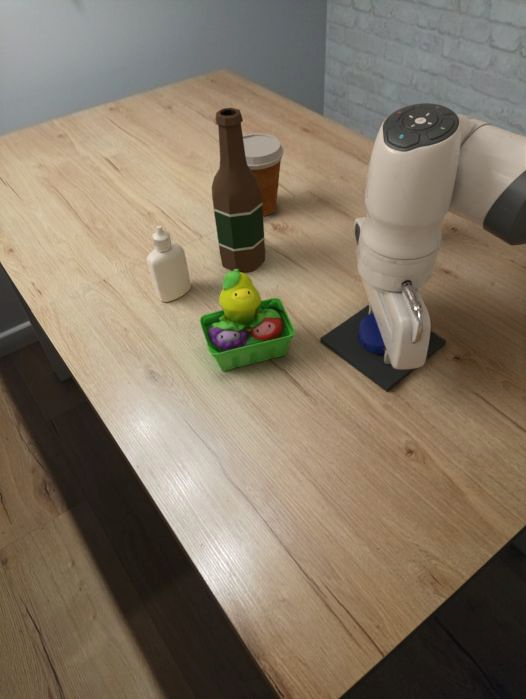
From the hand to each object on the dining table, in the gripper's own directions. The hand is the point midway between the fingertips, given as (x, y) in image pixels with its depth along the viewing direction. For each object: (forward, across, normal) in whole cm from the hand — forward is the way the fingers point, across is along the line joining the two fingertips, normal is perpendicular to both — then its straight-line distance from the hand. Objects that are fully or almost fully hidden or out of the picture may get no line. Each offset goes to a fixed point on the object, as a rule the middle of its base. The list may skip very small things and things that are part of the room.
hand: (382, 339), depth 70 cm
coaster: (+1, 0, 0) cm, 1 cm away
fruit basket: (+1, +2, +18) cm, 18 cm away
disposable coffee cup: (+1, +37, +14) cm, 39 cm away
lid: (-2, 0, 0) cm, 2 cm away
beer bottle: (+1, +22, +18) cm, 28 cm away
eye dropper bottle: (+1, +15, +29) cm, 33 cm away
